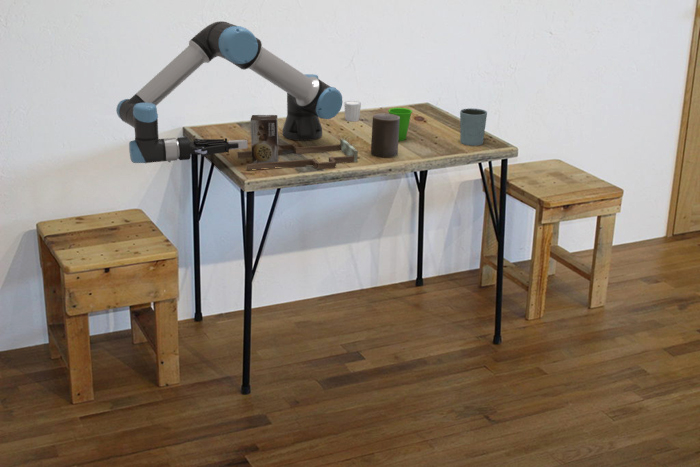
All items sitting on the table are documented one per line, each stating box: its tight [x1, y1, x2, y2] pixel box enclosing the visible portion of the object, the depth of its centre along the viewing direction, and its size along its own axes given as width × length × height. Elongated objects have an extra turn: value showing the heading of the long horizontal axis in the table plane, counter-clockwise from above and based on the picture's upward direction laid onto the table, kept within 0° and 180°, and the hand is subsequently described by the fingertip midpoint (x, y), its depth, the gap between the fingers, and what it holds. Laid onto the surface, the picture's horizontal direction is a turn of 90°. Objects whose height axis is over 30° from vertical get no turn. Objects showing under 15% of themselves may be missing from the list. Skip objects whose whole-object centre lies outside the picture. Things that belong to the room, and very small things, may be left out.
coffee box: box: [249, 114, 279, 164], centre depth 312 cm, size 9×6×16 cm
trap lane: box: [236, 138, 359, 171], centre depth 318 cm, size 25×39×4 cm, turn 109°
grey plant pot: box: [459, 107, 488, 147], centre depth 342 cm, size 10×10×12 cm
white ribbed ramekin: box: [343, 100, 362, 122], centre depth 369 cm, size 7×7×7 cm
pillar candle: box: [370, 112, 400, 158], centre depth 325 cm, size 10×10×15 cm
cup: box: [387, 107, 413, 142], centre depth 344 cm, size 9×9×11 cm
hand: (246, 143), depth 310 cm, fingers closed
